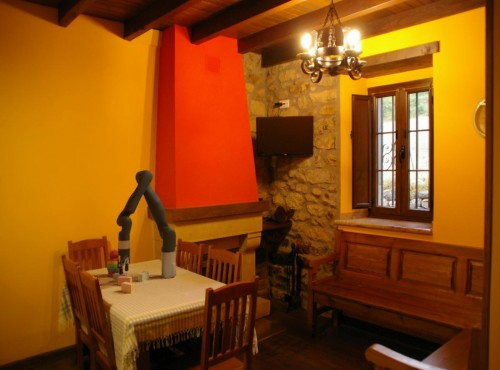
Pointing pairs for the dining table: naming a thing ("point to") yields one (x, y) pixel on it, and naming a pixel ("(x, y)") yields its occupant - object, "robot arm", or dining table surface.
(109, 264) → the stacking bear
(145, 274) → the sage brick
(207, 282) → the dining table surface
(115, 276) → the slate brick
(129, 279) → the terracotta brick
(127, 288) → the ochre brick
